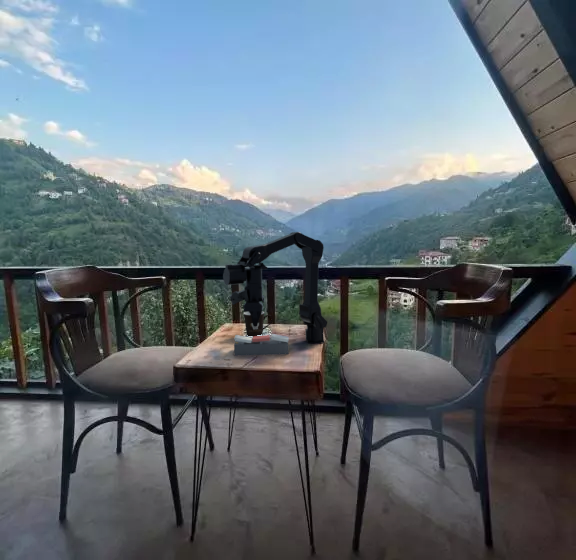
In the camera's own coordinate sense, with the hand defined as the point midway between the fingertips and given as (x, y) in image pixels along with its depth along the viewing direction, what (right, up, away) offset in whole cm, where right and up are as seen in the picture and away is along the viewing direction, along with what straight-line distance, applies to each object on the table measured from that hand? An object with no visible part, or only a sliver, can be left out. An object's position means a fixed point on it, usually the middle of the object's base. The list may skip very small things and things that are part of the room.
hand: (255, 326), depth 128 cm
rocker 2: (+9, -5, +1) cm, 10 cm away
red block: (+2, -5, +1) cm, 5 cm away
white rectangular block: (-4, -5, 0) cm, 7 cm away
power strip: (+2, -10, +3) cm, 10 cm away
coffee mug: (-1, -7, +23) cm, 24 cm away
